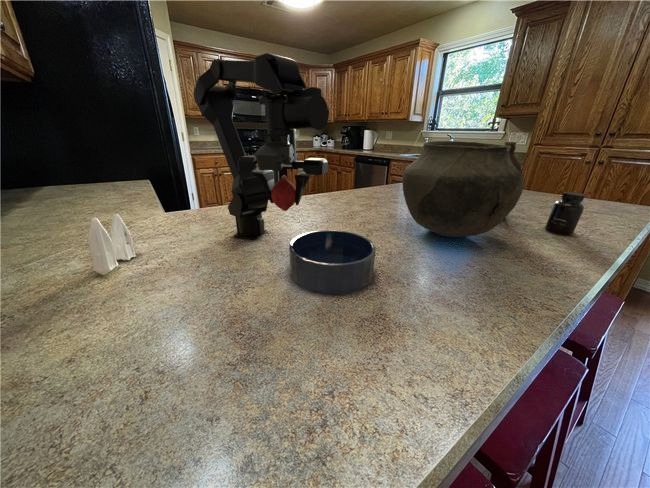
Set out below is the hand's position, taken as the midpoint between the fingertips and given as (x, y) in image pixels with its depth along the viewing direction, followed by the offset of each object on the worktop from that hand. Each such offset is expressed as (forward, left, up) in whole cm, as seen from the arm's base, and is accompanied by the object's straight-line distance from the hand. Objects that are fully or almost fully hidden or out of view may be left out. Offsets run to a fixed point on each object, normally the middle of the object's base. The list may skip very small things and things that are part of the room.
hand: (284, 203), depth 61 cm
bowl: (+13, -7, -12) cm, 19 cm away
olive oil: (+59, +47, -12) cm, 76 cm away
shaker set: (-31, -17, -12) cm, 38 cm away
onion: (0, 0, -2) cm, 2 cm away
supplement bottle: (+75, +36, -12) cm, 84 cm away
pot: (+42, +25, -12) cm, 50 cm away
